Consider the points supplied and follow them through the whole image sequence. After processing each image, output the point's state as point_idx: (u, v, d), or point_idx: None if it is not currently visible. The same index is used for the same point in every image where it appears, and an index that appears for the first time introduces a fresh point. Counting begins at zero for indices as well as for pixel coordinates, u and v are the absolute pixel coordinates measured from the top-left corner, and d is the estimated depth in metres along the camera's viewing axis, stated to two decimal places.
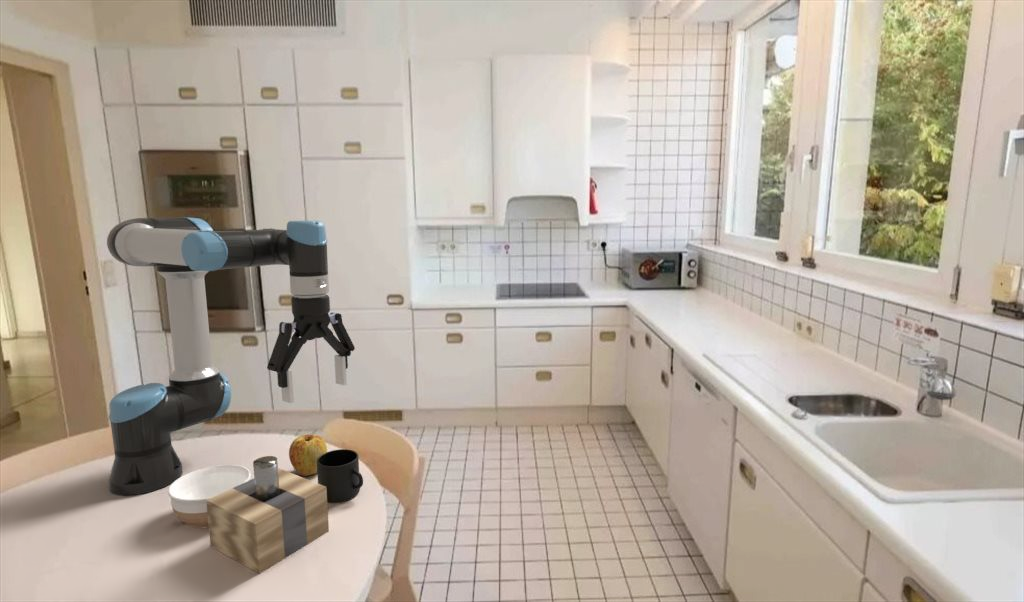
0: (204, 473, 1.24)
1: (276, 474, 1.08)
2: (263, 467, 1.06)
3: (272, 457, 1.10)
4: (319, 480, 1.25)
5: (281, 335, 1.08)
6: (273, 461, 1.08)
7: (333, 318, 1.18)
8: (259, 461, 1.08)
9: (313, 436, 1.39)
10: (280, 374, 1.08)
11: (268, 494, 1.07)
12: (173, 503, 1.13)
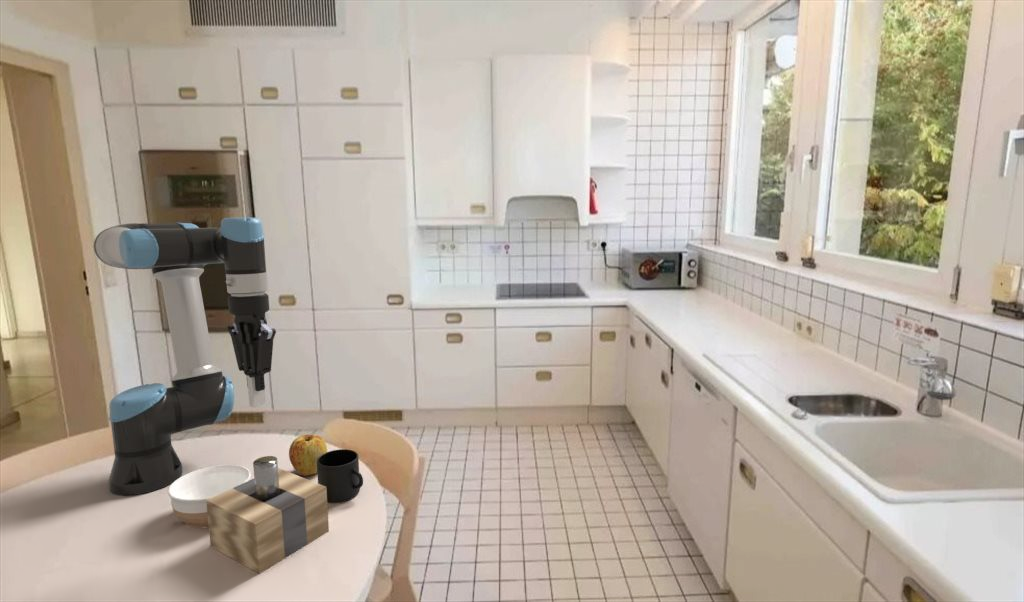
0: (204, 473, 1.24)
1: (276, 474, 1.08)
2: (263, 467, 1.06)
3: (272, 457, 1.10)
4: (319, 480, 1.25)
5: None
6: (273, 461, 1.08)
7: (263, 330, 1.08)
8: (259, 461, 1.08)
9: (313, 436, 1.39)
10: None
11: (268, 494, 1.07)
12: (173, 503, 1.13)
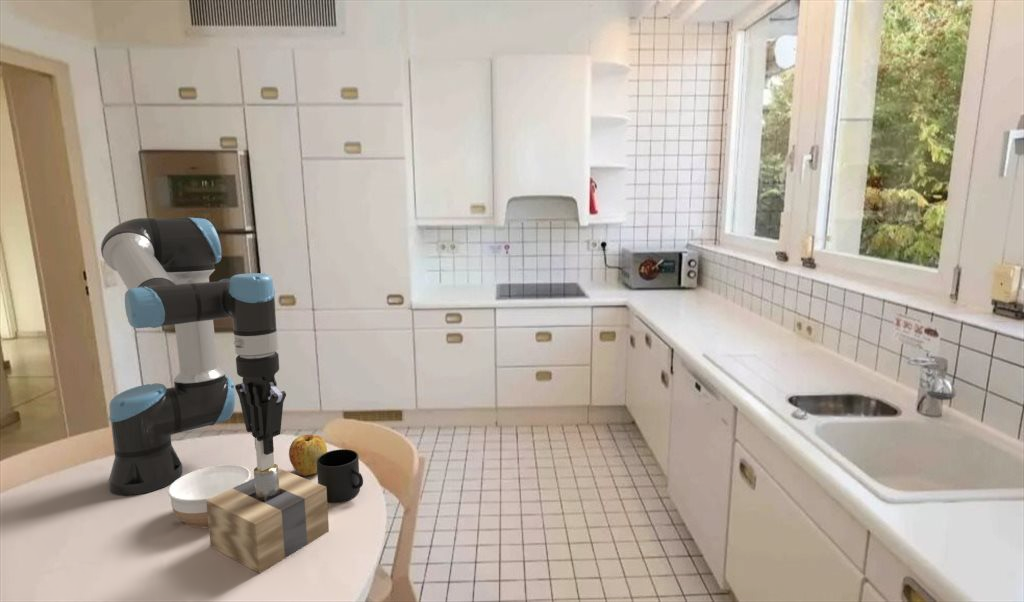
0: (204, 473, 1.24)
1: (277, 481, 1.09)
2: (264, 475, 1.06)
3: None
4: (319, 480, 1.25)
5: None
6: (274, 468, 1.08)
7: (273, 394, 1.03)
8: None
9: (313, 436, 1.39)
10: None
11: None
12: (173, 503, 1.13)
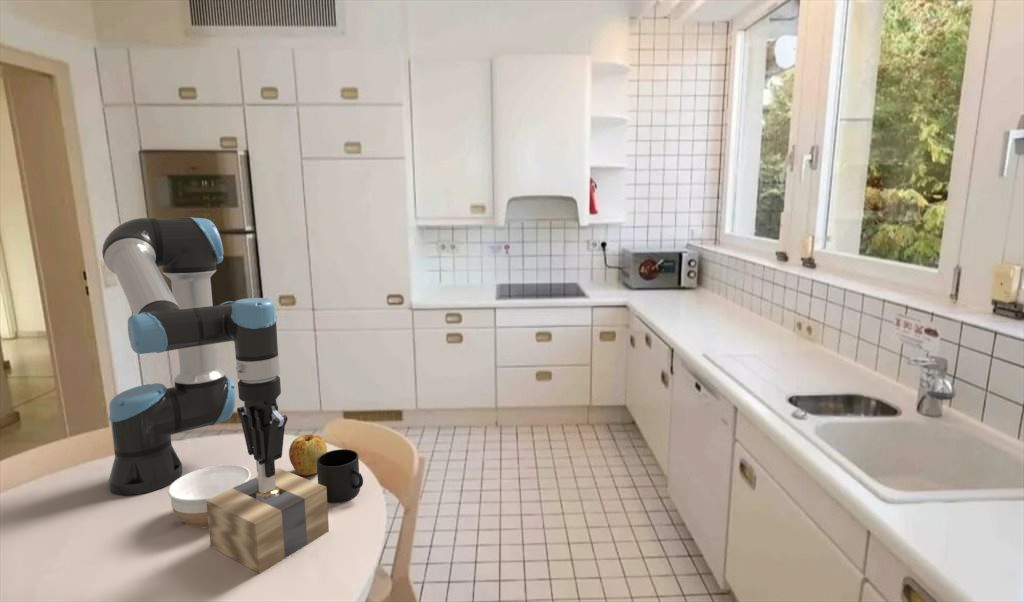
0: (204, 473, 1.24)
1: None
2: (266, 498, 1.07)
3: None
4: (319, 480, 1.25)
5: None
6: (275, 491, 1.09)
7: (274, 418, 1.04)
8: None
9: (313, 436, 1.39)
10: None
11: None
12: (173, 503, 1.13)
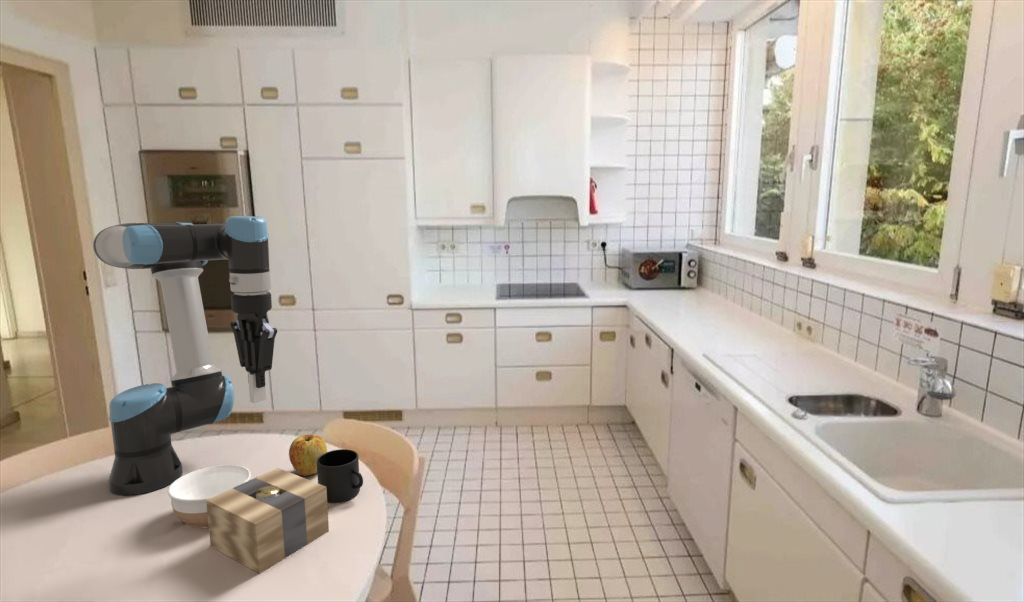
0: (204, 473, 1.24)
1: None
2: (266, 498, 1.07)
3: (274, 487, 1.11)
4: (319, 480, 1.25)
5: None
6: (275, 491, 1.09)
7: (265, 329, 1.09)
8: (261, 491, 1.09)
9: (313, 436, 1.39)
10: None
11: None
12: (173, 503, 1.13)
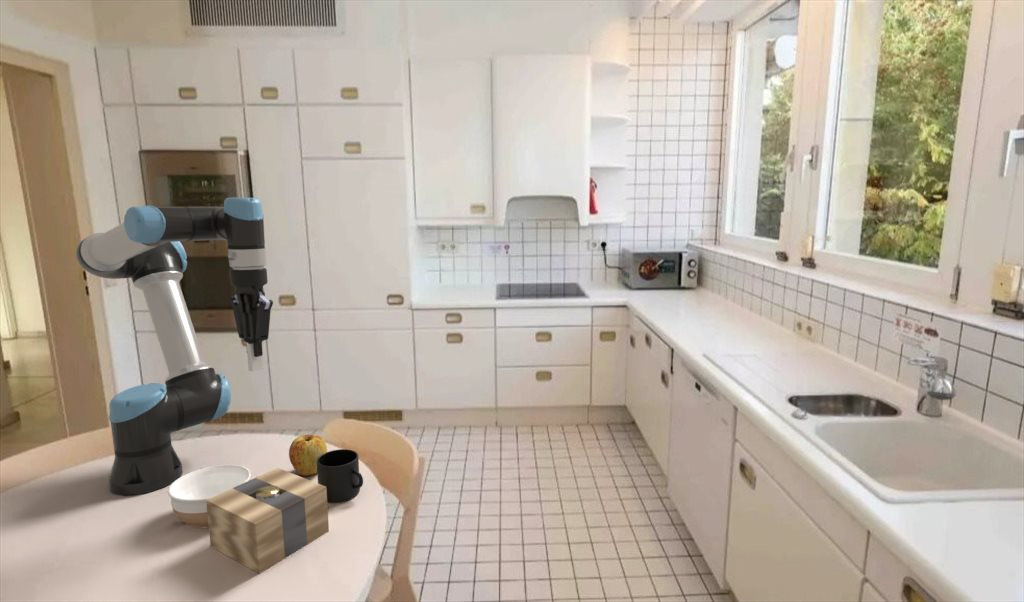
0: (204, 473, 1.24)
1: None
2: (266, 498, 1.07)
3: (274, 487, 1.11)
4: (319, 480, 1.25)
5: None
6: (275, 491, 1.09)
7: None
8: (261, 491, 1.09)
9: (313, 436, 1.39)
10: None
11: None
12: (173, 503, 1.13)
